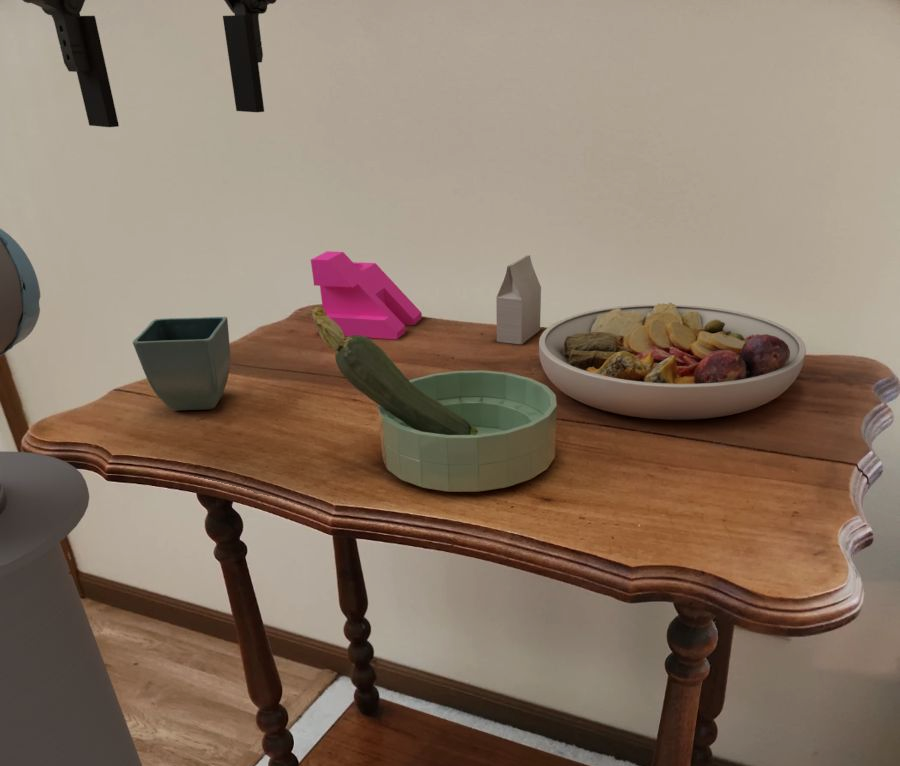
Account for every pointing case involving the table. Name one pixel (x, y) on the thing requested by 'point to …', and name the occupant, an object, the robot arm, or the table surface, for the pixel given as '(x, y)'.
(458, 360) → the table surface
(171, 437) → the table surface
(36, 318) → the robot arm
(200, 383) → the flower pot
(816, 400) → the table surface
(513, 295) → the milk carton
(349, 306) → the bracket
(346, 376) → the vegetable
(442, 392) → the mixing bowl
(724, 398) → the bowl
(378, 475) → the table surface
